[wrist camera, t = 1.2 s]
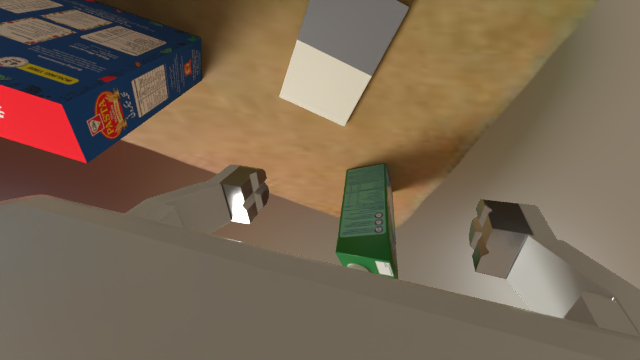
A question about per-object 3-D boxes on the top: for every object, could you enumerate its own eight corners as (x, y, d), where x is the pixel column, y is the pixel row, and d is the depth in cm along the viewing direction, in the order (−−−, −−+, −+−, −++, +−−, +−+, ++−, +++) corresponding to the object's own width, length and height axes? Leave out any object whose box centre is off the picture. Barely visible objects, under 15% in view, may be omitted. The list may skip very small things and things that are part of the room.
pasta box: (60, 31, 51) (-161, 86, 30) (42, -18, 45) (-242, 6, 24) (201, 80, 52) (87, 163, 32) (200, 37, 47) (61, 104, 26)
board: (280, 94, 52) (279, 96, 51) (323, -41, 37) (322, -41, 36) (344, 123, 54) (344, 126, 53) (408, 6, 39) (409, 7, 38)
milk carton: (346, 169, 61) (333, 264, 43) (385, 163, 58) (390, 261, 40) (356, 197, 66) (348, 292, 48) (392, 192, 63) (399, 291, 45)
